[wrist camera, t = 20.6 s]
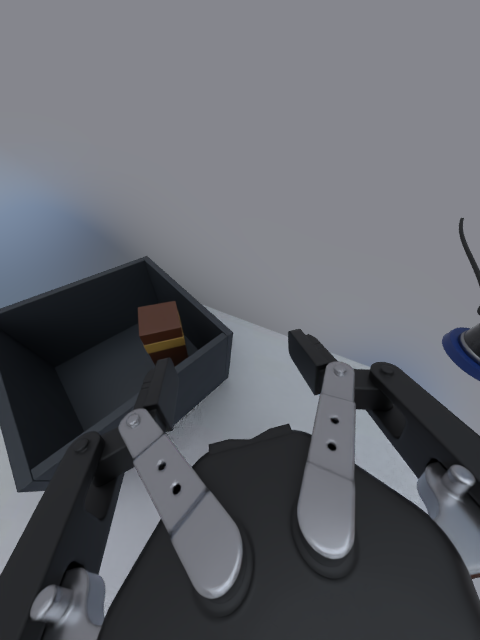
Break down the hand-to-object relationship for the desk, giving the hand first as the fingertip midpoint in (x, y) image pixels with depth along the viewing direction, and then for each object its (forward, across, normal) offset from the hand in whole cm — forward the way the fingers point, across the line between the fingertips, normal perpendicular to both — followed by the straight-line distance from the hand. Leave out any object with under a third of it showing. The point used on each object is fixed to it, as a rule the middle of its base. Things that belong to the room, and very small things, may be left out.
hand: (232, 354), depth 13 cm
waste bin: (+14, +14, +11) cm, 23 cm away
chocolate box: (+14, +9, +11) cm, 20 cm away
